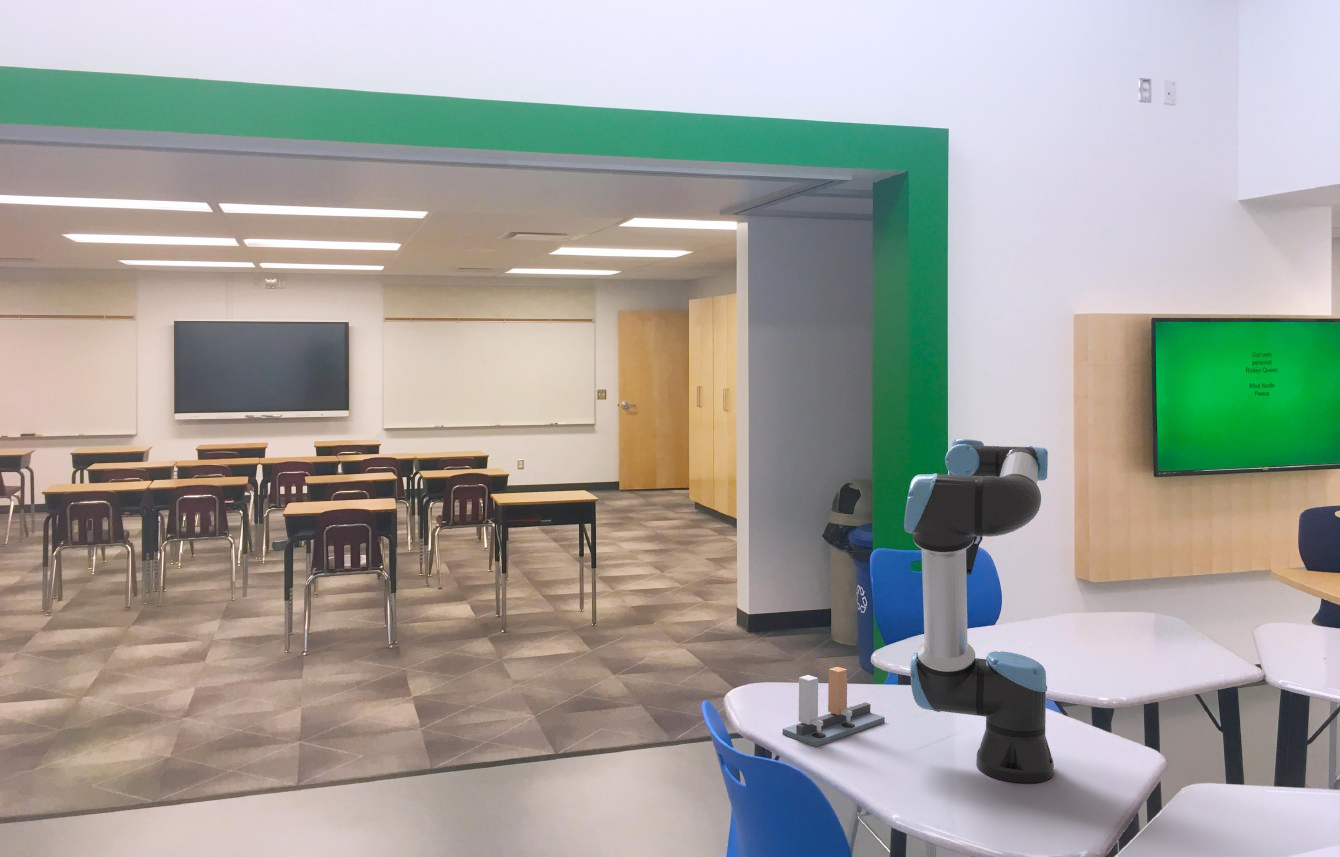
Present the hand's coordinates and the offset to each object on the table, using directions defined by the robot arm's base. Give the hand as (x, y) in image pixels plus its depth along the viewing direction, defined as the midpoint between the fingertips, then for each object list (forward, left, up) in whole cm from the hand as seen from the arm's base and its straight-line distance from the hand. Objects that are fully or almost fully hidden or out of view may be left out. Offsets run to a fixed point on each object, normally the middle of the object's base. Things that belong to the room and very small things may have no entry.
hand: (954, 602), depth 239 cm
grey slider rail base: (+2, +31, -27) cm, 41 cm away
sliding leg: (+1, +30, -25) cm, 39 cm away
